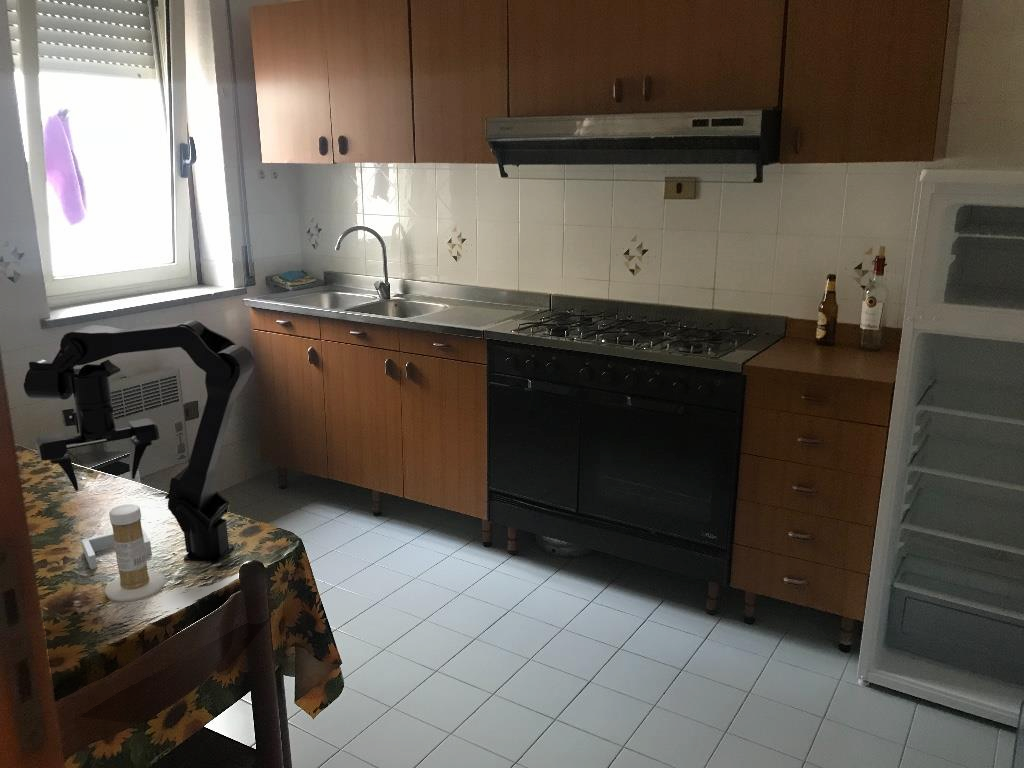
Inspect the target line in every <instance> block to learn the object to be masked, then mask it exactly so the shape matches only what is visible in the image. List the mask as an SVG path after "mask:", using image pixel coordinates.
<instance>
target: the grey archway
mask: <svg viewBox="0 0 1024 768" xmlns="http://www.w3.org/2000/svg"><path fill="white" fill-rule="evenodd" d="M142 533H143V537H144V544H145V552H146V556H149V555H152V554H153V553H152V544H151V540H150V539H149V537H148V535H147V533H146V532H145V531H144V529H143V528H142ZM81 545H82V551H83V554H84V556H85V559H86V561H87V563H88V566H89V568H90V570H95V569H98V563H97V557H96V554H95V553H96V552H100V551H103V550H107V549H112V548H115V544H114V535H113V531H112V532H108V533H104V534H100V535H96V536H92V537H88V538H83V539H81Z"/></svg>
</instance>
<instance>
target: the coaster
mask: <svg viewBox="0 0 1024 768" xmlns="http://www.w3.org/2000/svg"><path fill="white" fill-rule="evenodd" d="M148 576H149V582H148V583H147V584H145V585H144V586H142V587H139V588H135V589H125V588H123V587H121V586H120V575H119V576H118V577H115V578H114V579H112V580H110V582H109V583H107V585H106V586H105V588H104V589H105V597H106V598H107V599H108V600H109V601H113V602H117V603H130V602H137V601H140V600H144V599H147V598H149V597H152V596H153V595H156V594H158V593H159V592H160V591H161V590H162V589H163V588H164V586H165V585H166V581H165V580H166V579H165V575H164V574H163V573H161V572H160V571H156V570H148Z"/></svg>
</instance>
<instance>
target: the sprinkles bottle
mask: <svg viewBox="0 0 1024 768" xmlns="http://www.w3.org/2000/svg"><path fill="white" fill-rule="evenodd" d="M141 519H142V513H141V509H140V506H139V505H138V504H135V503H128V504H121V505H116V506H115V507H112V509H110V511H109V522H110V524H111V527H112V532H113V535H114V544H115V547H114V550H115V556H116V563H117V564H116V565H117V568H118V573H119V574H118V575H119V576H120V586H121V587H123V588H125V589H135V588H139V587H142V586H144V585H145V584H147V583H148V582H149V576H148V571H149V570H148V561H147V555H146V552H145V544H144V537H143V533H142V529H143V528H142V520H141Z"/></svg>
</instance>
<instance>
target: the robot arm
mask: <svg viewBox="0 0 1024 768" xmlns="http://www.w3.org/2000/svg"><path fill="white" fill-rule="evenodd" d="M59 348H60V349H59V350H58V352H57V353H56V355H55V357H54V359H53V360H45V359H39V358H38V359H37V358H36V359H34V360H31V361H29V362H28V365H29V369H28V370H27V372H26V374H25V377H24V382H23V389H24V392H25V395H26V396H27V397H28V398H30V399H31V400H57V401H58V400H68V399H70V398H71V396H72V395H73V398H74V399H73V401H74V406H75V408H72V407H71V408H65V409H64V408H63V409H61V410H60V411H61V419H62V424H63V427H64V428H66V429H67V428H71V427H75V430H76V431H75V432H76V434H79V435H76V436H71V437H65V438H64V436H63V434H62V433H61V432H59V433H52V434H48V435H40V436H38V437H37V438H36V440H35V447H36V452H37V454H38V456H39V458H40V460H41V461H49V463H50V464H54V465H55V464H58V465H59V466H60V468H61V469H62V471H64V473H65V474H66V476H67V478H68V479H69V481H70V484H71V486H72V487H73V488H74V491H75V492H77V491H79V486H78V485H79V484H78V481H77V478H76V473H75V470H74V466H73V463H72V460H71V457H70V456H69V454H68V450H70V449H76V448H81V447H86V446H92V445H97V444H103V443H109V442H115V441H119V440H124V439H125V440H126V439H127V442H128V452H129V456H128V457H129V473H130V478H131V480H134V479H135V478H136V476H137V472H138V469H139V466H140V464H141V460H142V457H143V456H144V453H145V451H146V449H147V448H148V446H149V447H150V446H152V445H153V442H154V441H157V440H159V439H160V433H159V428H158V425H157V424H156V423H155V422H154V421H153V420H151V419H150V418H148V417H145V418H140V419H134V420H128V421H127V427H122V428H116V421H115V420H116V419H115V415H114V414H115V413H114V407H113V399H112V391H111V382H110V377H112V376H114V375H116V374H118V373H120V372H121V371H122V370H121V368H120V367H119V366H117V365H115V364H114V363H112V362H111V360H110V359H106V360H104V361H101V362H100V364H91V363H94V362H97V361H99V360H103V359H105V358H109V357H112V356H115V355H118V354H127V353H129V354H130V353H136V352H145V351H146V352H148V351H155V350H156V351H157V350H163V349H165V350H167V349H176V348H181V349H182V350H183V351H184V352H186V354H187V355H188V356H189V357H190V359H191V360H192V362H193V363H194V364H195V365H196V366H197V367H198V368H199V369H201V370H202V371H204V372H205V378H204V379H205V380H204V385H205V390H206V395H207V397H206V401H205V404H204V409H203V411H202V415H201V418H200V423H199V426H198V428H197V432H196V437H195V438H194V439H195V440H194V444H193V447H192V451H191V454H190V457H189V461H188V463H187V465H186V466H184V467H183V469H181V470H180V471H178V472H177V473H175V475H174V476H172V477H171V479H170V484H169V491H168V493H167V495H165V497H164V498H165V499H166V500H167V508H168V511H170V512H171V514H172V515H173V517H175V520H176V522H177V524H178V526H179V528H180V530H181V531H182V532H183V535H184V543H185V544H184V545H185V551H186V553H187V554H185V555H184V556H183V560H184V561H191V562H202V563H203V562H204V563H215V564H216V563H218V562H220V560H221V559H222V558H224V557H225V556H226V555H227V554H228V553H229V552H230V551H231V550H233V549H234V548H235V546H234V544H233V543H229V542H230V541H229V536H228V535H229V533H228V526H227V519H225V518H223V517H224V516H225V515H226V514H227V513H228V512H229V508H230V504H231V503H230V502H229V500H227V499H226V498H225V497H224V496H222V495H221V494H220V493H219V492H218V491H217V485H218V484H217V481H218V480H217V477H216V472H215V469H216V465H217V462H218V459H219V454H220V451H221V448H222V445H223V441H224V438H225V435H226V432H227V428H228V425H229V421H230V418H231V415H232V411H233V409H234V405H235V401H236V398H237V397H238V396H239V394H240V392H241V391H242V390H243V388H244V387H245V385H246V384H247V382H248V381H249V377H250V376H251V374H252V373H253V370H254V368H255V362H256V361H255V357H254V356H253V354H252V352H251V351H250V350H249V349H248V348H247V347H245V346H243V345H240V344H237V343H235V342H234V341H233V340H231V339H230V338H228V337H227V336H224V335H222V334H221V333H218V332H216V331H214V330H211V329H210V328H208V326H206V325H204V324H203V323H202V322H200V321H198V320H193V319H191V320H187V321H185V322H175V323H169V324H168V323H167V324H159V325H150V326H148V325H147V326H140V327H132V328H131V327H130V328H117V327H113V326H109V325H98V324H96V325H95V324H91V325H86V326H84V327H81V328H78V329H76V330H72V331H70V332H66V333H65V334H63V336H62V338H61V340H60V343H59ZM76 366H82V367H81V368H74V367H76Z"/></svg>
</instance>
